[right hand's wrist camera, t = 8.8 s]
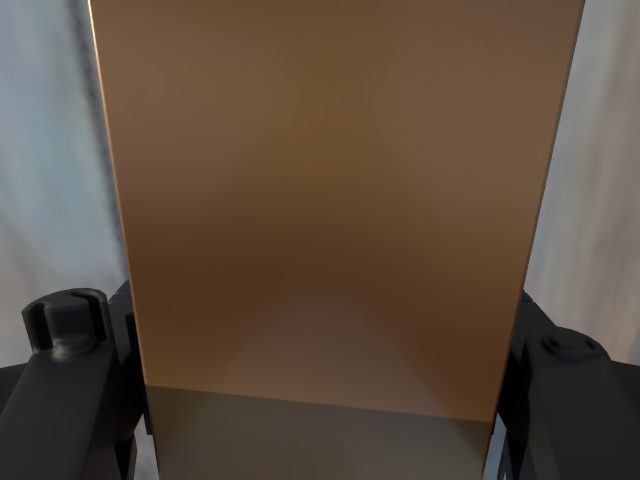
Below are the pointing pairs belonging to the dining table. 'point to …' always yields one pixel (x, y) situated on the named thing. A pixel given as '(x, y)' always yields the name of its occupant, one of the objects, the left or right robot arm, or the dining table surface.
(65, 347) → the right robot arm
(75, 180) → the dining table surface
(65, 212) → the dining table surface
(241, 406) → the beam
